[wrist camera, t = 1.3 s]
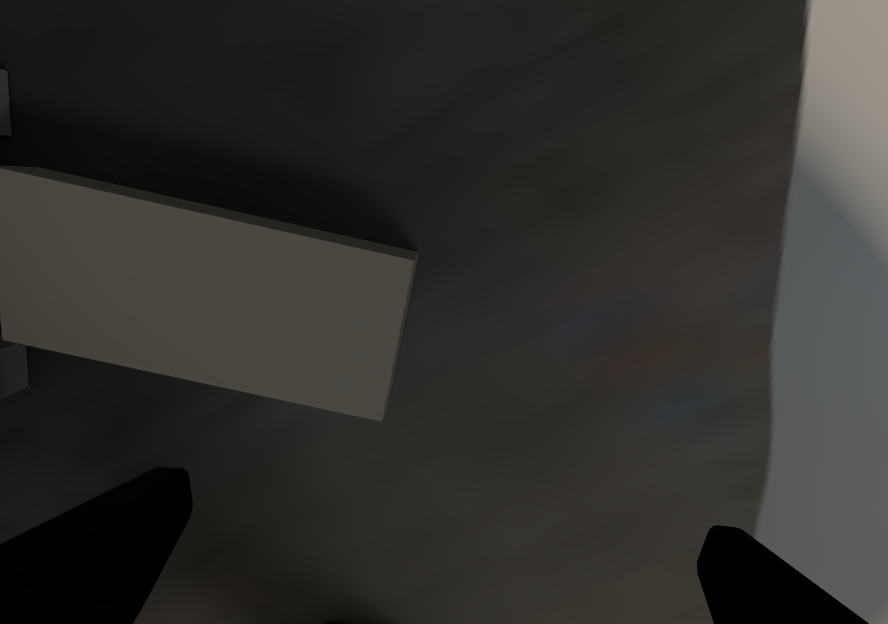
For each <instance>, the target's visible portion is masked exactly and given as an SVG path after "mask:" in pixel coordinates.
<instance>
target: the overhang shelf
mask: <svg viewBox="0 0 888 624" xmlns="http://www.w3.org/2000/svg"><path fill="white" fill-rule="evenodd" d="M0 135H7V136H12V133H11V119H10V104H9V89H8V75H7V71H6V70H1V69H0ZM28 386H29V381H28V366H27V351H26V345H23V344H19V343H14V342H9V341H5V340H2V335H0V400H1V399H3V398H5V397H7V396H9V395H11V394H13V393H15V392H17V391H20V390H22V389H24V388H26V387H28Z"/></svg>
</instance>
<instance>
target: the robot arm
mask: <svg viewBox="0 0 888 624" xmlns="http://www.w3.org/2000/svg"><path fill="white" fill-rule="evenodd" d="M192 506H193V502H192V495H191V488H190V481H189V474H188V471H187V470H186V468H184V467H181V466H172V465H159V466H157V467H155V468H153V469H151V470H149V471H147V472H145V473H143V474H141V475H139V476H137V477H135V478H133V479H131V480H128V481H126V482H124V483H122V484H120V485H118V486H116V487H114V488H112V489H110V490H108V491H106V492H104V493H102V494H100V495H98V496H96V497H94V498H92V499H90V500H88V501H86V502H84V503H82V504H80V505H78V506H76V507H74V508H72V509H70V510H68V511H66V512H64V513H62V514H60V515H58V516H56V517H54V518H52V519H50V520H48V521H46V522H44V523H42V524H40V525H38V526H36V527H34V528H32V529H30V530H28V531H26V532H24V533H22V534H20V535H18V536H16V537H14V538H12V539H10V540H8V541H5V542H3V543H1V544H0V624H133V622H134V620H135V619H136V617H137V616H138V614H139V612H140V611H141V609H142V607H143V605H144V604H145V602H146V600H147V598H148V596H149V595H150V593H151V591H152V589H153V587H154V585H155V583H156V581H157V579H158V577H159V575H160V574H161V572H162V570H163V568H164V566H165V564H166V562H167V560H168V558H169V556H170V555H171V553H172V551H173V549H174V547H175V545H176V543H177V541H178V539H179V537H180V535H181V534H182V532H183V530H184V528H185V526H186V524H187V522H188V520H189V518H190V515H191V512H192ZM697 572H698V576H699V580H700V583H701V586H702V589H703V592H704V595H705V598H706V601H707V604H708V607H709V610H710V613H711V616H712V619H713V622H714V624H869V623H867V622H866V621H865V620H863V619H862V618H861V617H859V616H858V615H857V614H855V613H854V612H853V611H851V610H850V609H848V608H847V607H846V606H844V605H843V604H842V603H840V602H839V601H838V600H836V599H835V598H834V597H832V596H831V595H830V594H828V593H827V592H826V591H824V590H823V589H822V588H820V587H819V586H817V585H816V584H814V583H813V582H812V581H811V580H809V579H808V578H807V577H805V576H804V575H802V574H801V573H800V572H798V571H797V570H796V569H794V568H793V567H792V566H790V565H789V564H788V563H786V562H785V561H784V560H782V559H781V558H780V557H778V556H777V555H776V554H774V553H773V552H772V551H770V550H769V549H768V548H766V547H765V546H764V545H762V544H761V543H759V542H758V541H757V540H755V539H754V538H753V537H751V536H750V535H749V534H747V533H746V532H745V531H743V530H742V529H739V528H736V527H729V526H720V525H716V526H713V527H712V528H710V530H709V531H708V534H707V537H706V539H705V542H704V544H703V547H702V550H701V552H700V555H699V557H698V561H697ZM326 624H330V623H326Z"/></svg>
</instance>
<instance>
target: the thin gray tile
mask: <svg viewBox="0 0 888 624" xmlns="http://www.w3.org/2000/svg"><path fill="white" fill-rule="evenodd" d="M418 255H419V252H416V251H411V250H407V249H402V248H398V247H394V246H389V245H385V244H380V243H376V242H371V241H367V240H362V239H358V238H353V237H349V236H344V235H340V234H335V233H331V232H326V231H322V230H318V229H313V228H309V227H304V226H300V225H295V224H291V223H286V222H282V221H277V220H273V219H268V218H264V217H259V216H255V215H250V214H246V213H241V212H237V211H233V210H228V209H224V208H219V207H215V206H210V205H206V204H201V203H197V202H192V201H188V200H183V199H179V198H174V197H170V196H165V195H161V194H157V193H152V192H148V191H143V190H139V189H134V188H130V187H125V186H121V185H116V184H112V183H107V182H103V181H98V180H94V179H89V178H85V177H81V176H76V175H72V174H67V173H63V172H58V171H54V170H49V169H45V168H40V167H23V166H0V319H1V331H2V340H5V341H9V342H14V343H19V344H23V345H28V346H33V347H37V348H42V349H46V350H51V351H56V352H60V353H65V354H70V355H74V356H79V357H84V358H88V359H93V360H98V361H102V362H107V363H112V364H116V365H121V366H126V367H130V368H135V369H140V370H144V371H149V372H154V373H158V374H163V375H168V376H172V377H177V378H182V379H186V380H191V381H196V382H200V383H205V384H209V385H214V386H219V387H223V388H228V389H233V390H237V391H242V392H247V393H251V394H256V395H261V396H265V397H270V398H275V399H279V400H284V401H289V402H293V403H298V404H303V405H307V406H312V407H317V408H321V409H326V410H331V411H335V412H340V413H345V414H349V415H354V416H358V417H363V418H368V419H372V420H377V421H382V420H383V417H384V414H385V411H386V408H387V405H388V402H389V399H390V394H391V389H392V384H393V379H394V374H395V369H396V364H397V359H398V354H399V349H400V344H401V339H402V334H403V329H404V324H405V319H406V314H407V310H408V305H409V300H410V295H411V290H412V285H413V280H414V275H415V270H416V265H417V260H418Z"/></svg>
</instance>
